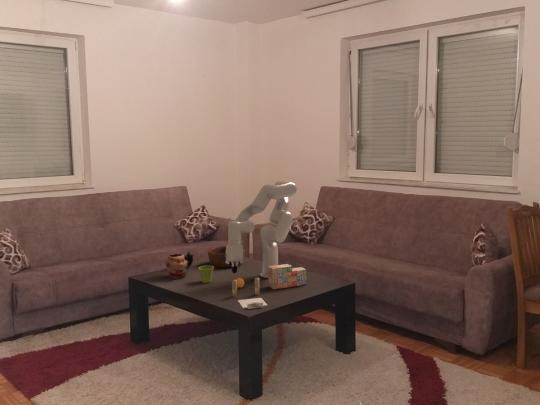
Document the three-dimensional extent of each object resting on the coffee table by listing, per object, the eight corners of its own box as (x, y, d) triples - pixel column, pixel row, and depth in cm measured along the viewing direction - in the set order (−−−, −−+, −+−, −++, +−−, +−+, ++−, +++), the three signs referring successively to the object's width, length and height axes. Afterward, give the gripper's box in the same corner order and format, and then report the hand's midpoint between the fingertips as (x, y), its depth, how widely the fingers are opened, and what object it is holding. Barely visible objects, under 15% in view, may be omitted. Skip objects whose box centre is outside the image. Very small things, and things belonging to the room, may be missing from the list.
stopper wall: (262, 306, 284) (262, 301, 284) (263, 307, 283) (263, 302, 282) (247, 308, 282) (247, 303, 281) (248, 308, 280) (247, 304, 280)
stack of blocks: (301, 282, 328) (301, 262, 327) (306, 285, 322) (306, 264, 321) (268, 286, 320) (268, 265, 319) (272, 289, 314) (272, 268, 313)
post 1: (236, 295, 303) (236, 279, 302) (237, 297, 301) (237, 280, 299) (231, 296, 302) (231, 280, 301) (232, 297, 300) (232, 281, 299)
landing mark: (261, 298, 298) (261, 297, 298) (267, 305, 285) (267, 305, 285) (237, 300, 294) (237, 300, 294) (243, 308, 282) (243, 307, 282)
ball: (243, 285, 322) (243, 276, 321) (245, 288, 317) (245, 278, 316) (233, 286, 320) (233, 277, 320) (235, 289, 315) (235, 279, 314)
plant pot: (211, 284, 327) (211, 269, 326) (196, 283, 329) (196, 269, 328) (216, 279, 336) (216, 265, 335) (201, 279, 338) (201, 265, 337)
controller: (194, 266, 369) (194, 252, 368) (179, 270, 361) (178, 255, 359) (190, 265, 372) (190, 251, 371) (175, 268, 364) (174, 254, 362)
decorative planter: (159, 275, 349) (158, 253, 347) (176, 271, 357) (175, 250, 355) (176, 281, 334) (175, 258, 332) (193, 277, 341) (192, 255, 340)
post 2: (258, 293, 307) (258, 277, 305) (260, 294, 304) (259, 278, 303) (254, 293, 306) (254, 278, 305) (255, 295, 303) (255, 279, 302)
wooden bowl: (250, 261, 381) (250, 247, 380) (235, 270, 358) (235, 254, 357) (218, 259, 390) (217, 244, 389) (201, 267, 367) (200, 252, 365)
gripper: (245, 240, 330) (245, 270, 332) (220, 241, 326) (220, 272, 328) (248, 242, 323) (248, 273, 325) (223, 243, 318) (223, 275, 320)
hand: (234, 272), depth 326 cm, fingers closed
